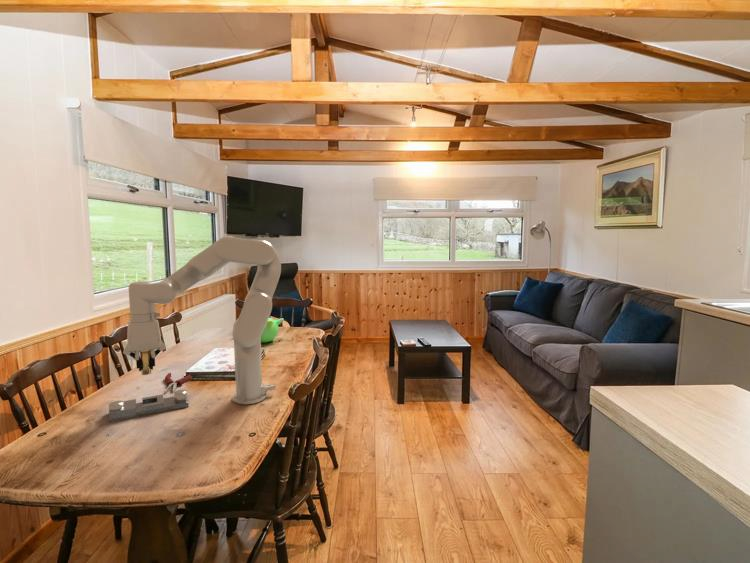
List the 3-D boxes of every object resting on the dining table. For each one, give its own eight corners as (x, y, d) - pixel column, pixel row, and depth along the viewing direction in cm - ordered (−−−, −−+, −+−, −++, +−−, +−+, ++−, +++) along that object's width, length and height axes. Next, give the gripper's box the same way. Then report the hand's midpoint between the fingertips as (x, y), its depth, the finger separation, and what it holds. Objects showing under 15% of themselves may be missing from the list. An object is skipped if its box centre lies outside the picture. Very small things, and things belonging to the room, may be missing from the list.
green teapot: (257, 337, 244) (256, 312, 242) (285, 338, 242) (284, 313, 240) (243, 345, 227) (242, 319, 225) (273, 346, 224) (272, 320, 222)
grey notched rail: (186, 398, 157) (186, 386, 156) (189, 406, 150) (188, 394, 149) (110, 412, 145) (109, 400, 145) (108, 422, 138) (107, 409, 137)
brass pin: (152, 370, 148) (151, 346, 147) (153, 374, 145) (151, 349, 144) (139, 372, 146) (138, 347, 145) (139, 376, 143) (138, 350, 142)
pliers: (153, 396, 160) (152, 389, 160) (168, 377, 180) (167, 372, 180) (184, 394, 163) (184, 387, 162) (196, 376, 182) (195, 370, 182)
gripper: (168, 313, 150) (171, 362, 153) (115, 317, 142) (119, 369, 145) (170, 317, 144) (172, 369, 146) (114, 322, 136) (118, 376, 138)
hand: (146, 368), depth 145 cm, fingers closed on brass pin, 3 cm apart
